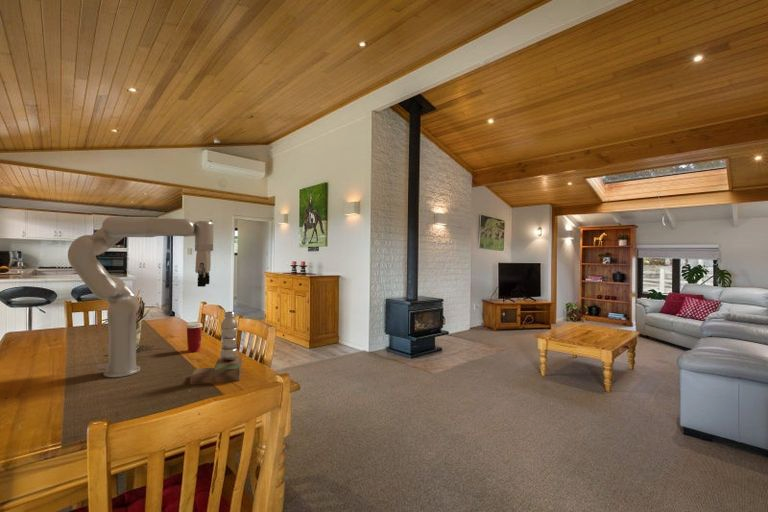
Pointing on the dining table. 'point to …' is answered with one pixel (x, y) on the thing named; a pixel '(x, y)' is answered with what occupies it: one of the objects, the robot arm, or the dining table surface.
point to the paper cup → (194, 336)
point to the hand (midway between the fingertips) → (203, 285)
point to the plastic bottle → (229, 337)
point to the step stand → (218, 372)
